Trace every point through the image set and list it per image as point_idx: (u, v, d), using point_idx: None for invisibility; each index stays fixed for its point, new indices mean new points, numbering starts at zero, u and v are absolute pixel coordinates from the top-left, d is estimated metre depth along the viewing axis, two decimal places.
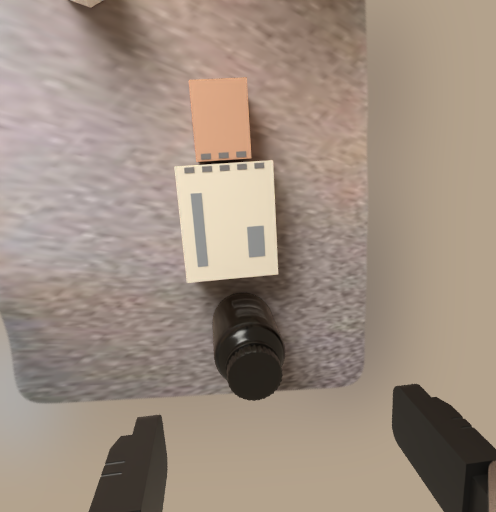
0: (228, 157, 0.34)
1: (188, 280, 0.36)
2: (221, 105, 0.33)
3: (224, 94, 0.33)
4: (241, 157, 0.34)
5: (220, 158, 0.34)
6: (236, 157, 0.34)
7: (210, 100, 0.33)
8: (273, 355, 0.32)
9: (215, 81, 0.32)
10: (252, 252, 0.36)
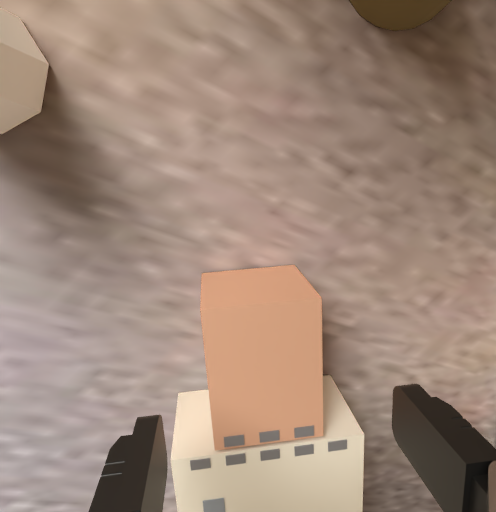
0: (279, 438, 0.17)
1: None
2: (267, 352, 0.16)
3: (275, 332, 0.16)
4: (304, 436, 0.17)
5: (262, 442, 0.17)
6: (294, 437, 0.17)
7: (245, 345, 0.16)
8: None
9: (256, 309, 0.15)
10: None
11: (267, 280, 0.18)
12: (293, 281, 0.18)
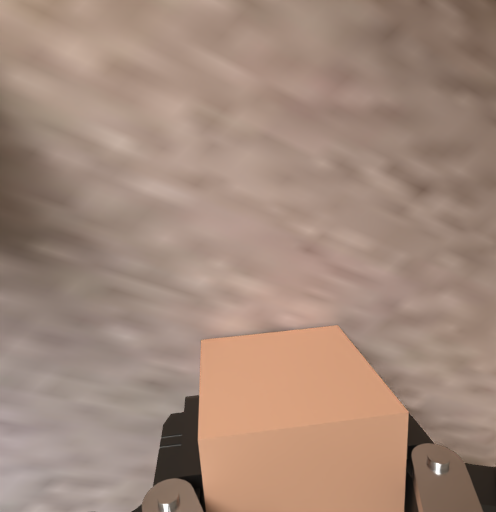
0: None
1: None
2: (312, 501, 0.09)
3: (328, 470, 0.09)
4: None
5: None
6: None
7: (276, 492, 0.09)
8: None
9: (297, 434, 0.09)
10: None
11: (303, 359, 0.12)
12: (346, 364, 0.11)
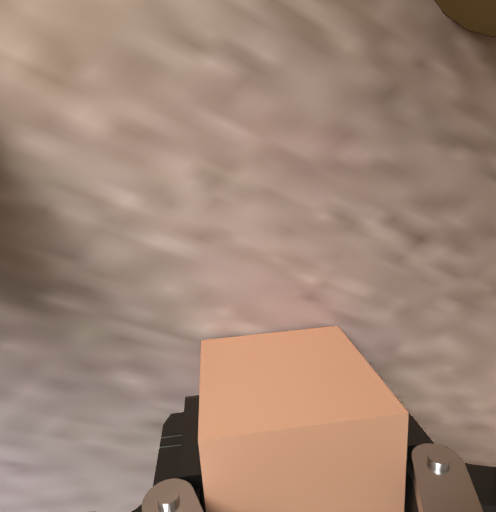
0: None
1: None
2: (312, 502, 0.09)
3: (328, 471, 0.09)
4: None
5: None
6: None
7: (276, 493, 0.09)
8: None
9: (297, 435, 0.09)
10: None
11: (303, 360, 0.12)
12: (346, 365, 0.11)
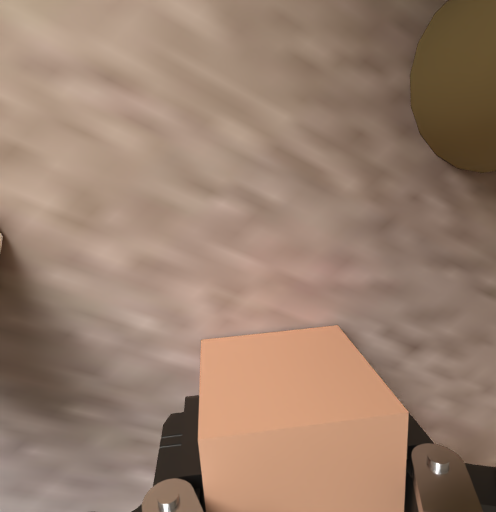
0: None
1: None
2: (312, 501, 0.09)
3: (327, 470, 0.09)
4: None
5: None
6: None
7: (276, 492, 0.09)
8: None
9: (297, 434, 0.09)
10: None
11: (303, 360, 0.12)
12: (346, 364, 0.11)
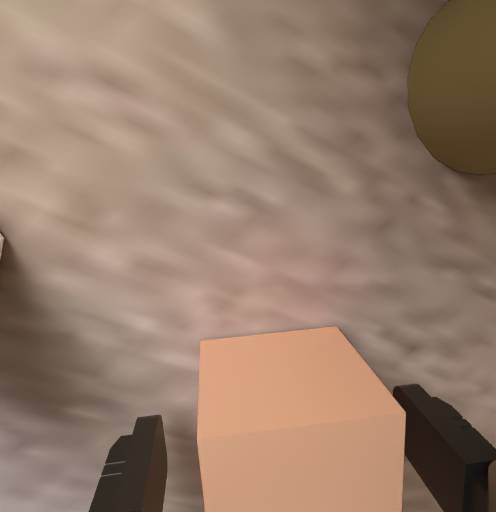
0: None
1: None
2: (310, 501, 0.09)
3: (326, 470, 0.09)
4: None
5: None
6: None
7: (275, 491, 0.09)
8: None
9: (295, 434, 0.09)
10: None
11: (302, 360, 0.12)
12: (344, 365, 0.11)
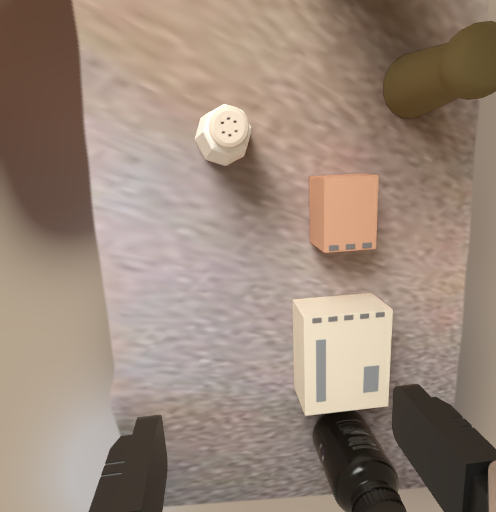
0: (354, 248, 0.35)
1: (306, 413, 0.39)
2: (352, 201, 0.34)
3: (356, 191, 0.34)
4: (366, 248, 0.35)
5: (347, 249, 0.35)
6: (362, 248, 0.35)
7: (342, 197, 0.34)
8: (399, 501, 0.34)
9: (349, 179, 0.33)
10: (366, 388, 0.39)
11: None
12: (361, 174, 0.36)
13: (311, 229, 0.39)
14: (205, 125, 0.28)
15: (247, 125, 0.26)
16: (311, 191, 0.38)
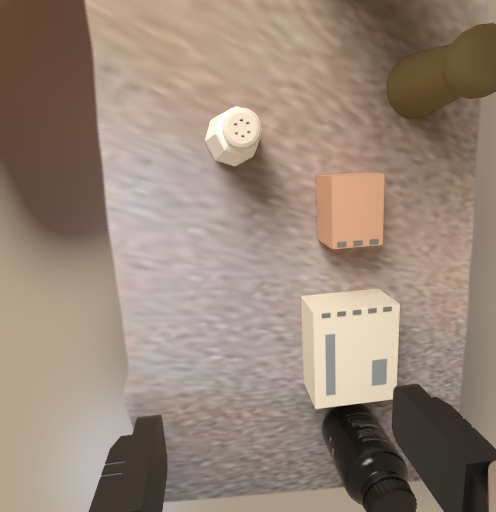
0: (362, 244, 0.36)
1: (316, 407, 0.40)
2: (359, 198, 0.35)
3: (363, 189, 0.35)
4: (373, 244, 0.36)
5: (354, 245, 0.36)
6: (369, 244, 0.36)
7: (350, 194, 0.35)
8: (409, 490, 0.35)
9: (356, 177, 0.34)
10: (374, 381, 0.40)
11: (353, 173, 0.37)
12: None
13: (318, 226, 0.40)
14: (218, 127, 0.29)
15: (259, 126, 0.27)
16: (318, 190, 0.39)
